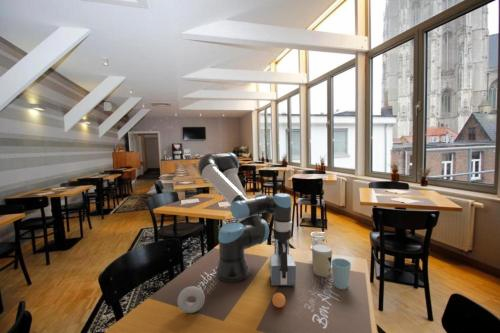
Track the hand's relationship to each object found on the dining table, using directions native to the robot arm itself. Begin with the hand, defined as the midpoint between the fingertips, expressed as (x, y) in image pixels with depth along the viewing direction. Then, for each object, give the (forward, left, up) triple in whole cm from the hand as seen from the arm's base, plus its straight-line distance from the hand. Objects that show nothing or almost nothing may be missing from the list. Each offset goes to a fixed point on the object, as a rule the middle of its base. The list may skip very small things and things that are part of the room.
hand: (282, 276), depth 109 cm
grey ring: (-15, -38, -2) cm, 41 cm away
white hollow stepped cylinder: (+3, +28, -2) cm, 28 cm away
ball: (+8, -15, +1) cm, 17 cm away
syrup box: (-14, +20, -2) cm, 24 cm away
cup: (+21, +13, -2) cm, 25 cm away
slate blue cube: (0, 0, -1) cm, 1 cm away
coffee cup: (+10, +18, -2) cm, 21 cm away
